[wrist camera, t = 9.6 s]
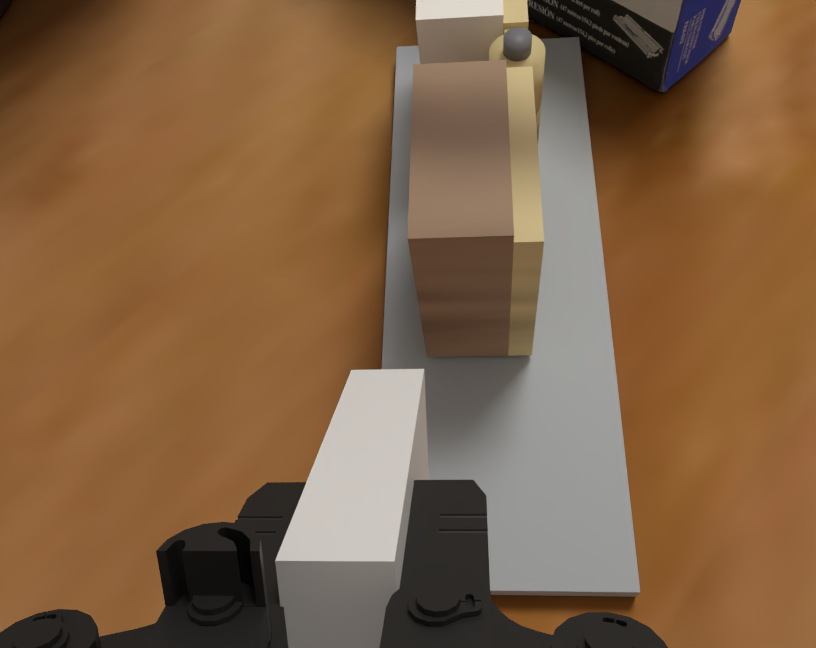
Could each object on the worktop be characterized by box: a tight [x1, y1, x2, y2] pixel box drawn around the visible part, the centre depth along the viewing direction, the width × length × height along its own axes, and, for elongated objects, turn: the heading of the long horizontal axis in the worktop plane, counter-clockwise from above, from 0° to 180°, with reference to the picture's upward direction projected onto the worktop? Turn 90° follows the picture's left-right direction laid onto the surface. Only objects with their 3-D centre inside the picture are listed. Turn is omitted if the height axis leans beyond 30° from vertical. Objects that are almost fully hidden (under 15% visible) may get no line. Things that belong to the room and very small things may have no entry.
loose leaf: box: [408, 60, 544, 357], centre depth 32 cm, size 10×5×9 cm, turn 179°
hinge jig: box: [382, 0, 640, 597], centre depth 32 cm, size 29×10×10 cm, turn 179°
